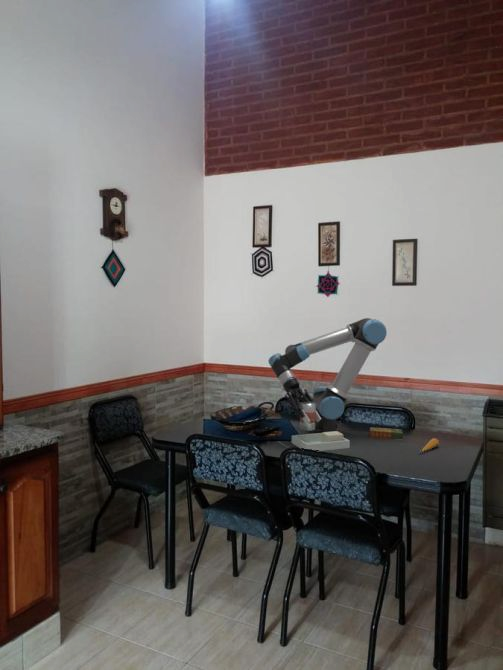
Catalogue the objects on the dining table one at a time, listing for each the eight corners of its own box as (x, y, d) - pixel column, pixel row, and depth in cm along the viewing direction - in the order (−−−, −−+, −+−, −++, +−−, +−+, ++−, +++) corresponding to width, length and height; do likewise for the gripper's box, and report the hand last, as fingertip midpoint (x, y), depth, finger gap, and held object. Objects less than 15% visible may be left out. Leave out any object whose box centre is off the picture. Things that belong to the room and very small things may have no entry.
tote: (332, 441, 270) (332, 432, 270) (349, 450, 255) (349, 440, 255) (291, 444, 262) (291, 435, 262) (306, 454, 247) (307, 444, 247)
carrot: (433, 447, 266) (430, 438, 266) (442, 445, 263) (438, 436, 263) (415, 460, 251) (412, 450, 251) (424, 458, 248) (421, 449, 248)
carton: (369, 434, 285) (369, 426, 284) (401, 436, 282) (401, 428, 281) (369, 439, 276) (370, 430, 276) (403, 441, 273) (403, 432, 273)
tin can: (310, 426, 263) (311, 401, 262) (317, 429, 257) (318, 404, 256) (297, 427, 261) (298, 402, 260) (304, 430, 254) (305, 405, 253)
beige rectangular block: (336, 443, 262) (336, 431, 262) (342, 446, 257) (343, 434, 256) (321, 444, 259) (321, 432, 259) (327, 448, 254) (328, 435, 253)
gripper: (298, 384, 275) (322, 422, 265) (270, 388, 261) (294, 429, 251) (307, 375, 271) (332, 414, 260) (278, 379, 257) (303, 420, 247)
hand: (313, 421), depth 256 cm, fingers closed on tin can, 7 cm apart
